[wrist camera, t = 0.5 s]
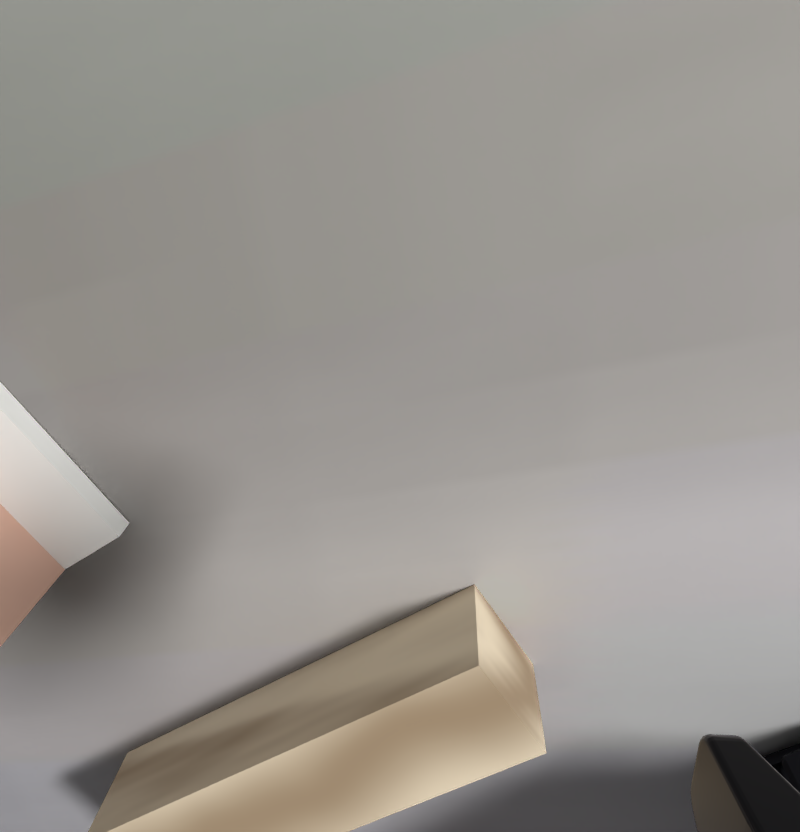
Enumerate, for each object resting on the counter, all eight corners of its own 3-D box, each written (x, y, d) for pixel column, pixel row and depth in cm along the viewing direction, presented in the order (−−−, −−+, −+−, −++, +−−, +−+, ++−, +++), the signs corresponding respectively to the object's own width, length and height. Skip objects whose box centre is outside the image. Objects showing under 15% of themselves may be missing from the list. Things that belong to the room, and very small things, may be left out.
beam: (532, 658, 25) (546, 753, 21) (194, 806, 29) (158, 906, 26) (473, 579, 24) (478, 665, 20) (130, 746, 28) (82, 842, 24)
